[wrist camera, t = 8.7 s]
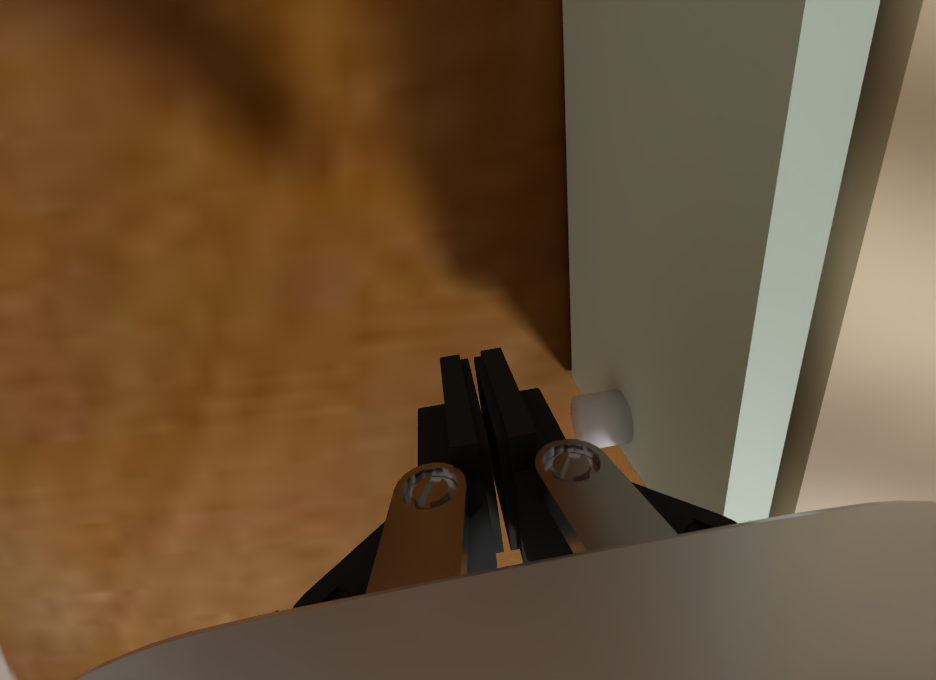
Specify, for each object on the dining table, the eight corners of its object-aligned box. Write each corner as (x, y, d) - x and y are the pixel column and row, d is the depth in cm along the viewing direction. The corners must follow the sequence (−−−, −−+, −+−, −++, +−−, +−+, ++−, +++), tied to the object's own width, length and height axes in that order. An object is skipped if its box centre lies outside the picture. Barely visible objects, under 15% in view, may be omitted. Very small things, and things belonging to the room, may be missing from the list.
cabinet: (603, -163, 14) (1246, -1283, 3) (943, -195, 15) (2480, -1228, 4) (599, 371, 22) (777, 581, 11) (819, 336, 23) (1194, 504, 12)
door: (509, -160, 14) (797, -1171, 3) (594, -168, 14) (1132, -1162, 3) (541, 383, 22) (654, 593, 11) (595, 375, 22) (755, 573, 11)
